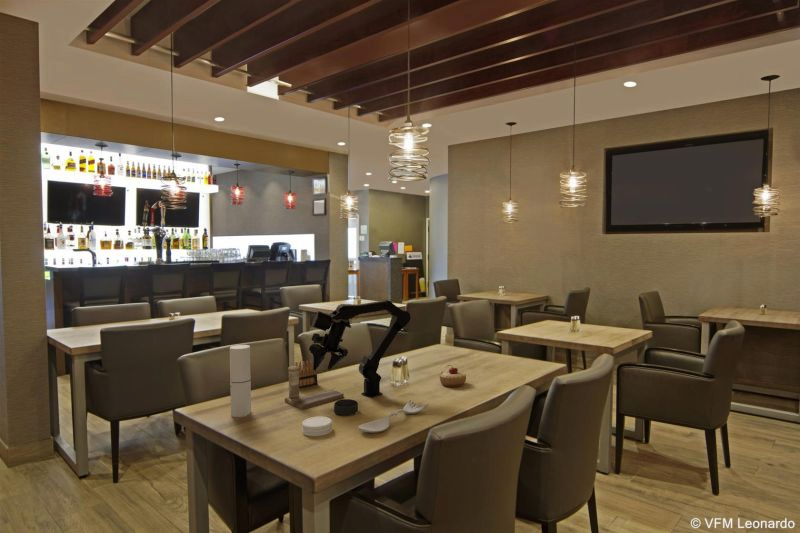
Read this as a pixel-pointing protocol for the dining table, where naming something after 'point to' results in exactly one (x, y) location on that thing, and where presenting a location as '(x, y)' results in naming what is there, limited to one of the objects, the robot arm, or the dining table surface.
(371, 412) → the dining table surface
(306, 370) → the ammunition clip
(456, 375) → the pastry
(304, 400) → the walnut plank
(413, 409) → the white spork
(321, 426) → the coaster
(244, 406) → the cylindrical container
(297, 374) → the beige round-topped column
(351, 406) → the smart speaker
